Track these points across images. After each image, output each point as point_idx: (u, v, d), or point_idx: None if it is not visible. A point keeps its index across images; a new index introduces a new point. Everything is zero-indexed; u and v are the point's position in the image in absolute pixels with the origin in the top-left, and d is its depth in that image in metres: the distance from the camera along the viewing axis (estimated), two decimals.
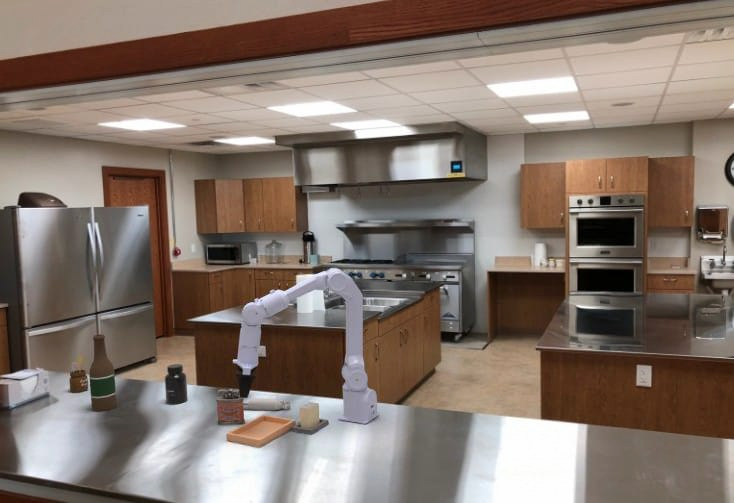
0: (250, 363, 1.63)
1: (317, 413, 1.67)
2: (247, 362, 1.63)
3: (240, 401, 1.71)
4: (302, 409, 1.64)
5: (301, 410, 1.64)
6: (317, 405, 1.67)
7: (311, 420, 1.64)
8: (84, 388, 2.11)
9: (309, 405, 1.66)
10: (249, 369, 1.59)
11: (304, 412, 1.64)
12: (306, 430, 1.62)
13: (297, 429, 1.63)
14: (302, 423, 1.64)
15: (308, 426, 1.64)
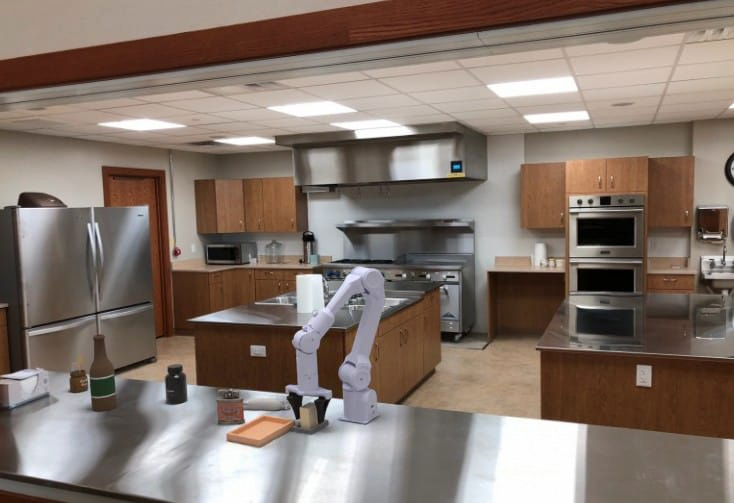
0: (318, 388, 1.65)
1: None
2: (316, 388, 1.64)
3: (240, 401, 1.71)
4: (302, 409, 1.64)
5: (301, 410, 1.64)
6: None
7: (311, 420, 1.64)
8: (84, 388, 2.11)
9: (309, 405, 1.66)
10: (331, 392, 1.63)
11: (304, 412, 1.64)
12: (306, 430, 1.62)
13: (297, 429, 1.63)
14: (302, 423, 1.64)
15: (308, 426, 1.64)
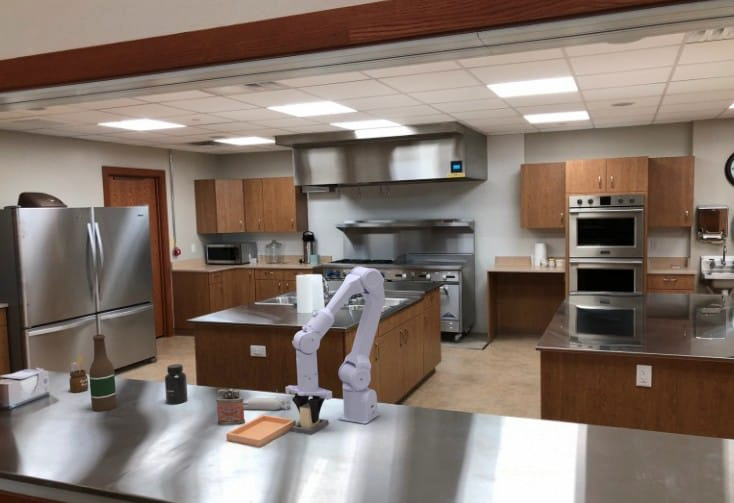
0: (318, 389, 1.65)
1: None
2: (316, 389, 1.64)
3: (240, 401, 1.71)
4: (302, 409, 1.64)
5: (301, 410, 1.64)
6: None
7: (311, 419, 1.64)
8: (84, 388, 2.11)
9: None
10: (331, 392, 1.63)
11: (304, 412, 1.64)
12: (306, 430, 1.62)
13: (297, 429, 1.63)
14: (302, 423, 1.64)
15: (308, 426, 1.64)
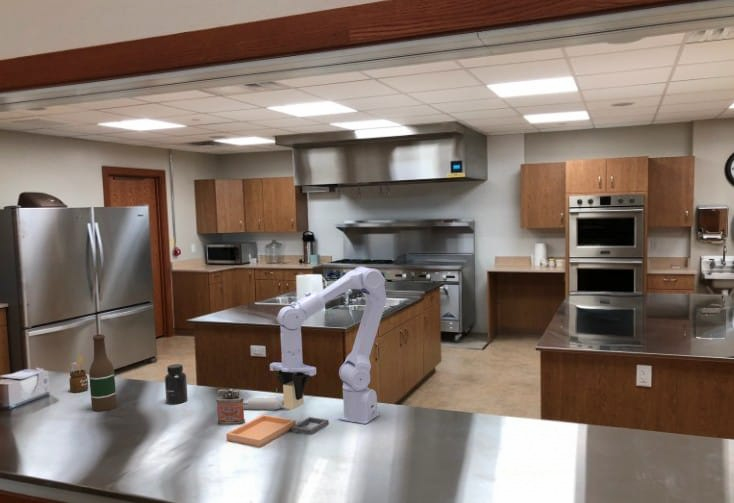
0: (302, 365, 1.64)
1: None
2: (300, 365, 1.63)
3: (240, 401, 1.71)
4: (285, 386, 1.62)
5: (285, 387, 1.63)
6: None
7: (295, 397, 1.63)
8: (84, 388, 2.11)
9: (293, 383, 1.64)
10: (315, 369, 1.61)
11: (287, 389, 1.62)
12: (306, 430, 1.62)
13: (297, 429, 1.63)
14: (286, 401, 1.63)
15: (291, 404, 1.62)
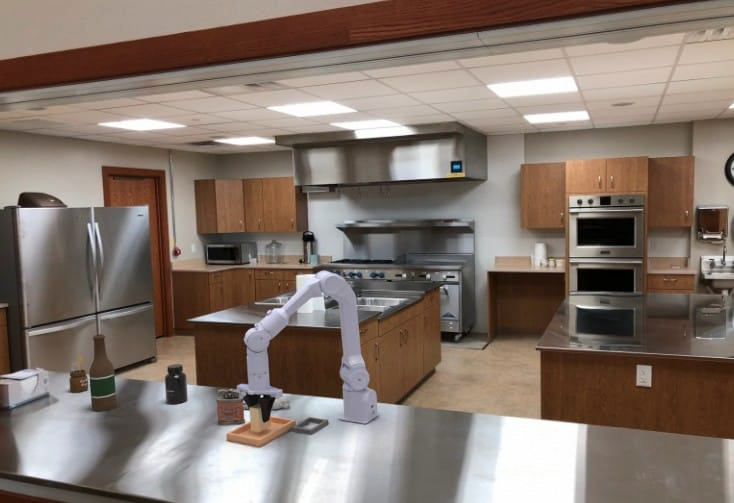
0: (269, 387, 1.62)
1: None
2: (267, 387, 1.61)
3: (240, 401, 1.71)
4: (252, 409, 1.61)
5: (251, 410, 1.61)
6: None
7: (261, 420, 1.61)
8: (84, 388, 2.11)
9: None
10: (281, 391, 1.60)
11: (254, 412, 1.61)
12: (306, 430, 1.62)
13: (297, 429, 1.63)
14: (252, 423, 1.61)
15: (258, 426, 1.60)
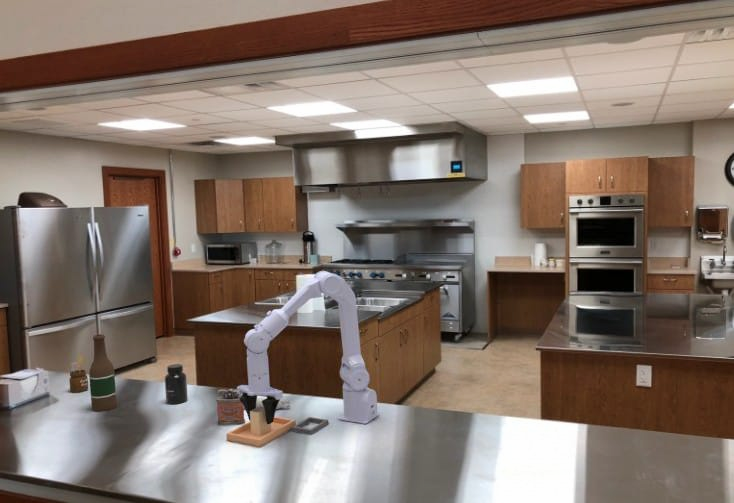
0: (269, 388, 1.62)
1: None
2: (267, 388, 1.61)
3: (240, 401, 1.71)
4: (252, 413, 1.61)
5: (252, 414, 1.61)
6: None
7: (262, 424, 1.61)
8: (84, 388, 2.11)
9: (260, 409, 1.63)
10: (281, 392, 1.60)
11: (254, 415, 1.61)
12: (306, 430, 1.62)
13: (297, 429, 1.63)
14: (253, 427, 1.61)
15: (258, 430, 1.60)
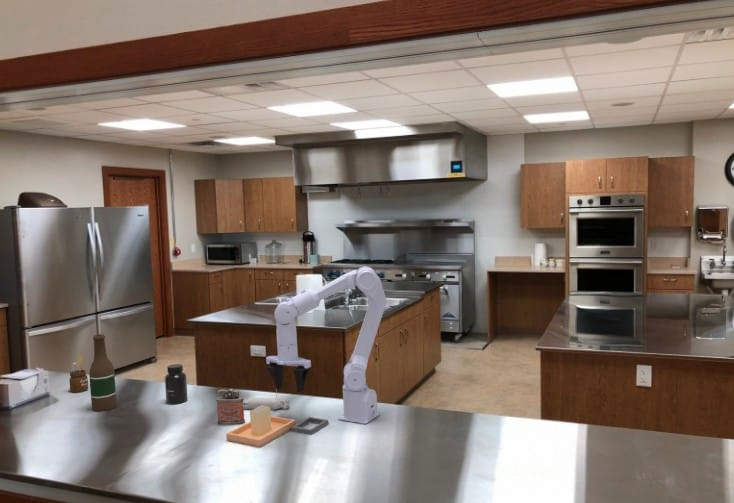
0: (297, 358, 1.70)
1: (268, 417, 1.64)
2: (295, 358, 1.69)
3: (240, 401, 1.71)
4: (252, 413, 1.61)
5: (252, 414, 1.61)
6: (268, 409, 1.64)
7: (262, 424, 1.61)
8: (84, 388, 2.11)
9: (260, 409, 1.63)
10: (310, 361, 1.68)
11: (254, 415, 1.61)
12: (306, 430, 1.62)
13: (297, 429, 1.63)
14: (253, 427, 1.61)
15: (258, 430, 1.60)
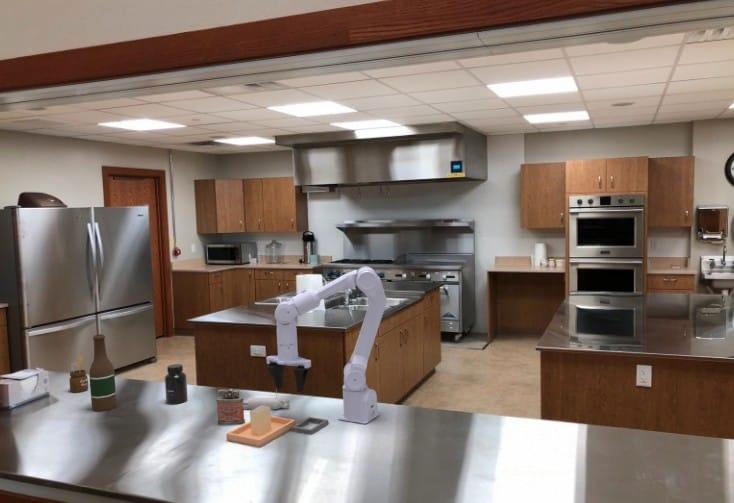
0: (297, 358, 1.70)
1: (268, 417, 1.64)
2: (296, 358, 1.69)
3: (240, 401, 1.71)
4: (252, 413, 1.61)
5: (252, 414, 1.61)
6: (268, 409, 1.64)
7: (262, 424, 1.61)
8: (84, 388, 2.11)
9: (260, 409, 1.63)
10: (310, 361, 1.68)
11: (254, 415, 1.61)
12: (306, 430, 1.62)
13: (297, 429, 1.63)
14: (253, 427, 1.61)
15: (258, 430, 1.60)
